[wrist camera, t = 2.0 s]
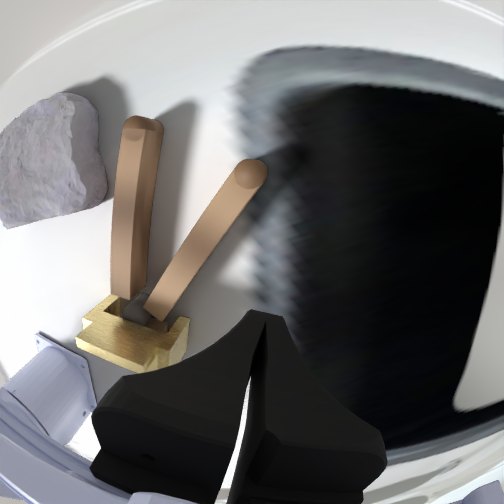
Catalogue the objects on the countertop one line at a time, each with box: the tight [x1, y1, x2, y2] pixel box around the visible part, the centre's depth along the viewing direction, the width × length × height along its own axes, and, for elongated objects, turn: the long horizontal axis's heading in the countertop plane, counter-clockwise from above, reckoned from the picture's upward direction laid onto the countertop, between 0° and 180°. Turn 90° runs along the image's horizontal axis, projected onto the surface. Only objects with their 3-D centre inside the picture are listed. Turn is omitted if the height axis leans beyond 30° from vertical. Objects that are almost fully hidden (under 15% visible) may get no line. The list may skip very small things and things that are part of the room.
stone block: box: [0, 92, 108, 229], centre depth 17 cm, size 12×5×10 cm
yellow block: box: [76, 294, 190, 373], centre depth 18 cm, size 3×7×6 cm, turn 79°
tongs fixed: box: [111, 116, 168, 334], centre depth 18 cm, size 18×4×2 cm, turn 169°
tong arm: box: [143, 159, 268, 322], centre depth 17 cm, size 12×2×2 cm, turn 144°
